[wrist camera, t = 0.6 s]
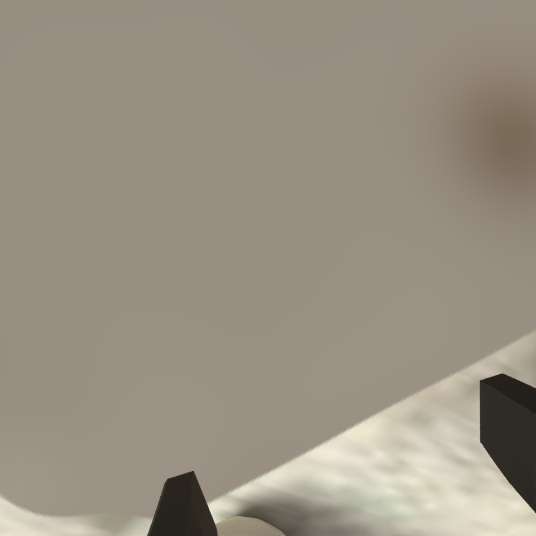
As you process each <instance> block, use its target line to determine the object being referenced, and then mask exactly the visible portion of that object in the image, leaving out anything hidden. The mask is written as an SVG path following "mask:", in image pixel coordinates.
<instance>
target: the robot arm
mask: <svg viewBox="0 0 536 536" xmlns="http://www.w3.org/2000/svg"><path fill="white" fill-rule="evenodd" d="M480 442H481V443H482V445H483V446H484V448H485V449H486V451H487V452H488V454H489V455H490V457H491V458H492V459H493V461H494V462H495V464H496V465H497V467H498V468H499V469H500V471H501V472H502V473H503V475H504V476H505V477H506V479H507V480H508V482H509V483H510V484H511V485H512V486H513V487H514V489H515V490H516V491H517V492H518V493H519V494H520V496H521V497H522V498H523V499H524V500H525V501H526V502H527V504H528V505H529V506H530V507H531V508H532V509H533V510H534V512H535V513H536V388H534V387H532V386H530V385H527V384H525V383H523V382H521V381H519V380H516V379H514V378H512V377H510V376H507V375H505V374H499V375H496V376H493V377H490V378H486V379H483V380H480ZM147 536H218V534H217V528H216V525H215V523H214V520H213V518H212V515H211V513H210V510H209V508H208V505H207V503H206V500H205V498H204V496H203V493H202V491H201V488H200V486H199V483H198V480H197V478H196V475H195V473H194V471H192V472H188V473H185V474H182V475H179V476H176V477H172V478H169V479H167V481H166V482H165V484H164V487H163V491H162V493H161V496H160V500H159V503H158V506H157V509H156V512H155V515H154V518H153V521H152V524H151V527H150V529H149V532H148V535H147Z"/></svg>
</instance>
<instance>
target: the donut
mask: <svg viewBox="0 0 536 536" xmlns="http://www.w3.org/2000/svg"><path fill="white" fill-rule="evenodd" d="M215 525H216V528H217V534H218V536H286V535H285V534H283V533H282V532H281V531H280V530H279V529H278V528H276V527H274V526H272V525H270V524H268V523H266V522H264V521H262V520H260V519H256V518H251V517H241V516H236V517H230V518H228V519H226V520H223V521H221V522H219V523H217V524H215Z"/></svg>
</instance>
